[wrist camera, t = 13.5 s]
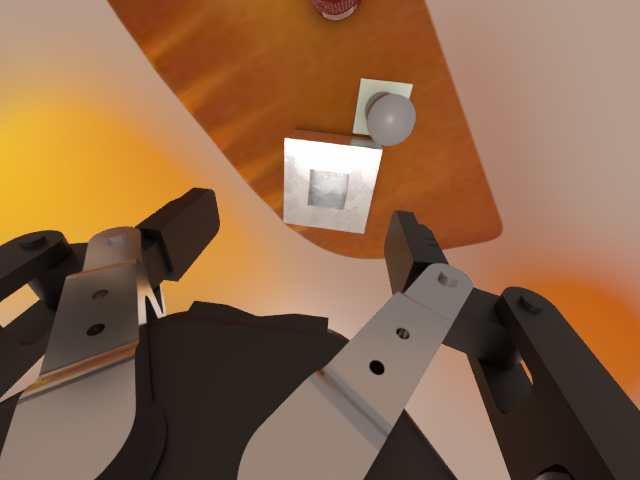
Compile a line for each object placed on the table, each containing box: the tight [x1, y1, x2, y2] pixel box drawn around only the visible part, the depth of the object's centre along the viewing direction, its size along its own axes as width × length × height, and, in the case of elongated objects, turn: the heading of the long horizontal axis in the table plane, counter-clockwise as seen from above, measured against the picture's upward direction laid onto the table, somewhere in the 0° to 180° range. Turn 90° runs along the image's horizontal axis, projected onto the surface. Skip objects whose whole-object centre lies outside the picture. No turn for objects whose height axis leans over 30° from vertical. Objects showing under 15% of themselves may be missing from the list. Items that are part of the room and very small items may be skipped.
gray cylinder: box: [365, 91, 416, 146], centre depth 31 cm, size 5×5×11 cm
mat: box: [353, 78, 413, 135], centre depth 36 cm, size 7×7×1 cm
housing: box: [284, 129, 382, 234], centre depth 39 cm, size 13×13×7 cm
